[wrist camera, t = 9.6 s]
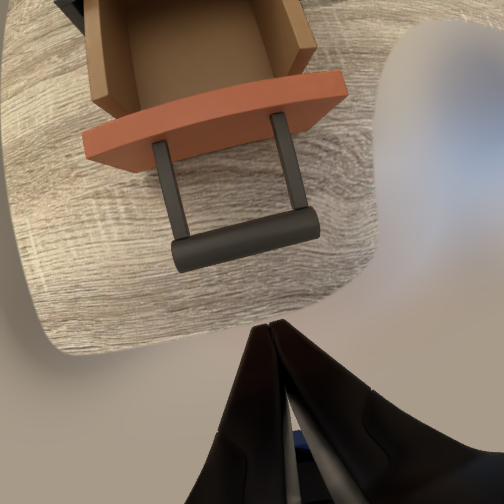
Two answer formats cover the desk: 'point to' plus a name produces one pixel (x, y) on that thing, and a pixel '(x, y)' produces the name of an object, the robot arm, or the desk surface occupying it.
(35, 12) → the desk surface
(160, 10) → the drawer
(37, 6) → the desk surface
